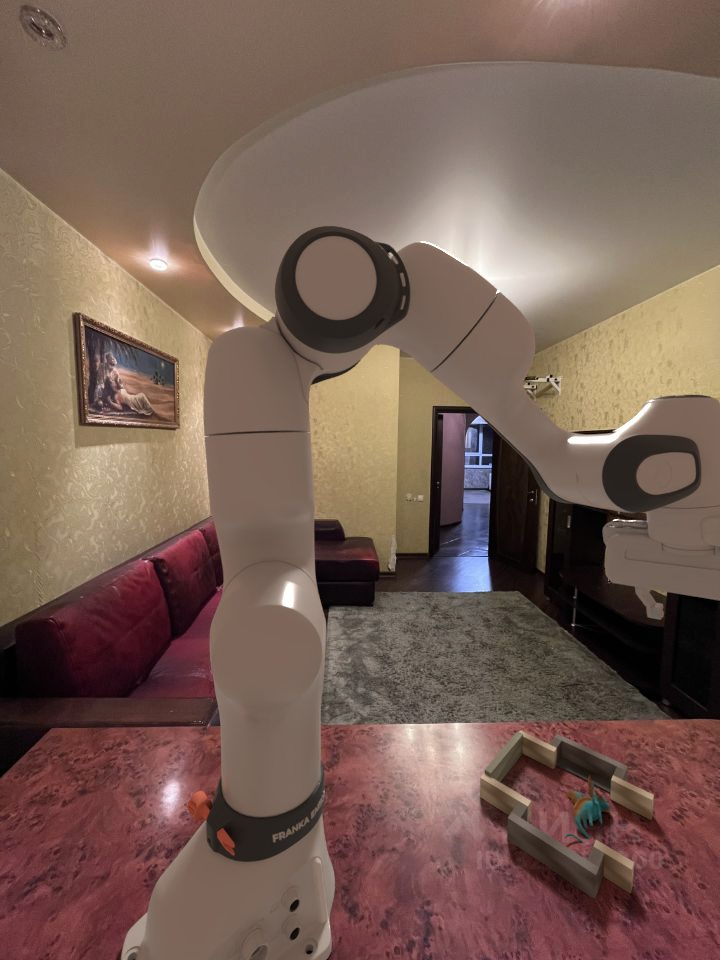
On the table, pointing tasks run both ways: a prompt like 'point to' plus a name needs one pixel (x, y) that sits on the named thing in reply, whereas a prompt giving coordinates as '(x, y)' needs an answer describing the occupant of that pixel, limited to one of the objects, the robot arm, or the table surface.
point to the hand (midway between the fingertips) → (698, 626)
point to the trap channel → (542, 845)
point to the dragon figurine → (587, 807)
